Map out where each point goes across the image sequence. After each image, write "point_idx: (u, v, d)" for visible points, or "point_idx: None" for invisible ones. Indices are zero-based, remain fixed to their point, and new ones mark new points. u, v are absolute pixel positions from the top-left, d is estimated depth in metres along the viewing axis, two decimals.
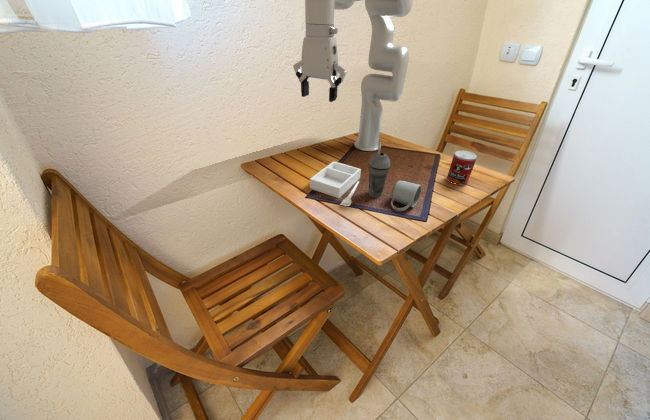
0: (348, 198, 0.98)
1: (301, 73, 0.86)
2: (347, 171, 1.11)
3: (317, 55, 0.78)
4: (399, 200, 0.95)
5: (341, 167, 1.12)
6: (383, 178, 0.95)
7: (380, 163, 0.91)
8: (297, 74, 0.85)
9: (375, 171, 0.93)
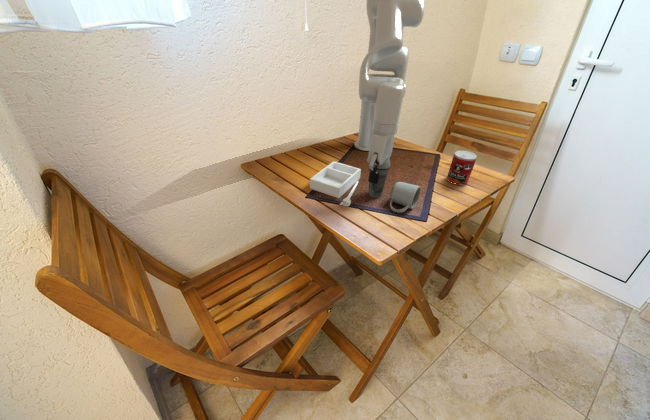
0: (348, 198, 0.98)
1: None
2: (347, 171, 1.11)
3: (391, 143, 0.90)
4: (398, 201, 0.94)
5: (341, 167, 1.12)
6: (383, 178, 0.95)
7: None
8: (375, 169, 0.90)
9: None
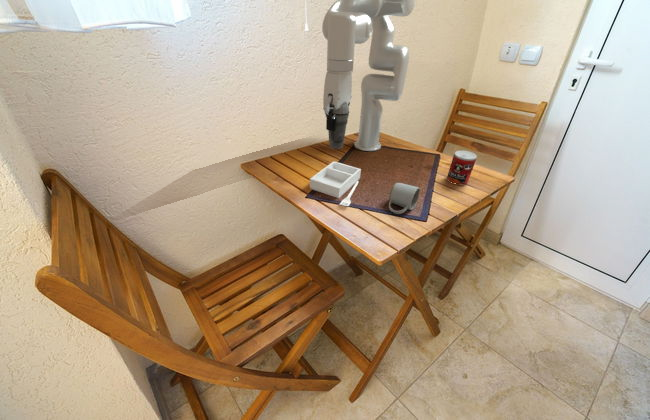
0: (347, 198, 0.98)
1: None
2: (347, 171, 1.11)
3: (347, 86, 0.84)
4: (397, 202, 0.93)
5: (341, 167, 1.12)
6: (342, 126, 0.89)
7: None
8: (331, 113, 0.84)
9: None
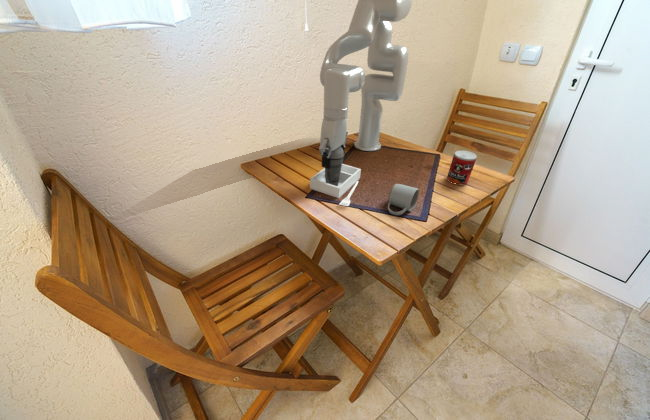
0: (347, 198, 0.98)
1: None
2: (347, 171, 1.11)
3: (342, 129, 0.92)
4: (396, 204, 0.93)
5: (341, 167, 1.12)
6: (337, 168, 0.98)
7: (332, 153, 0.94)
8: (325, 153, 0.91)
9: None
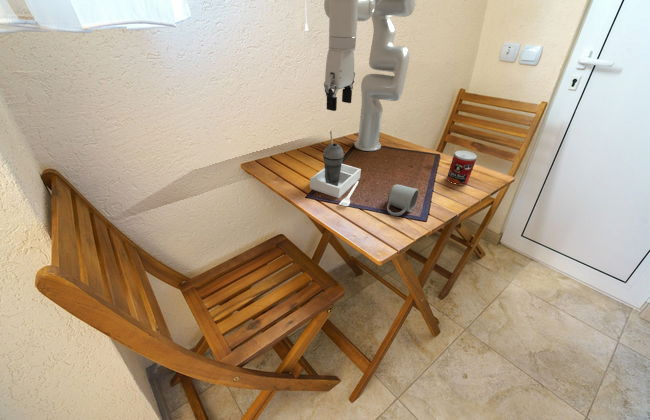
0: (347, 198, 0.98)
1: None
2: (347, 171, 1.11)
3: (350, 65, 0.83)
4: (395, 204, 0.93)
5: (341, 167, 1.12)
6: (337, 168, 0.98)
7: (332, 153, 0.94)
8: (331, 91, 0.81)
9: (328, 161, 0.96)
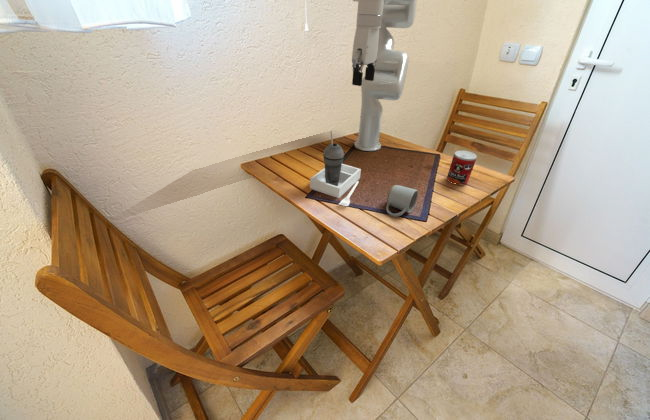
0: (347, 198, 0.98)
1: None
2: (347, 171, 1.11)
3: (375, 42, 0.89)
4: (395, 205, 0.92)
5: (341, 167, 1.12)
6: (337, 168, 0.98)
7: (332, 153, 0.94)
8: (358, 66, 0.88)
9: (328, 161, 0.96)
